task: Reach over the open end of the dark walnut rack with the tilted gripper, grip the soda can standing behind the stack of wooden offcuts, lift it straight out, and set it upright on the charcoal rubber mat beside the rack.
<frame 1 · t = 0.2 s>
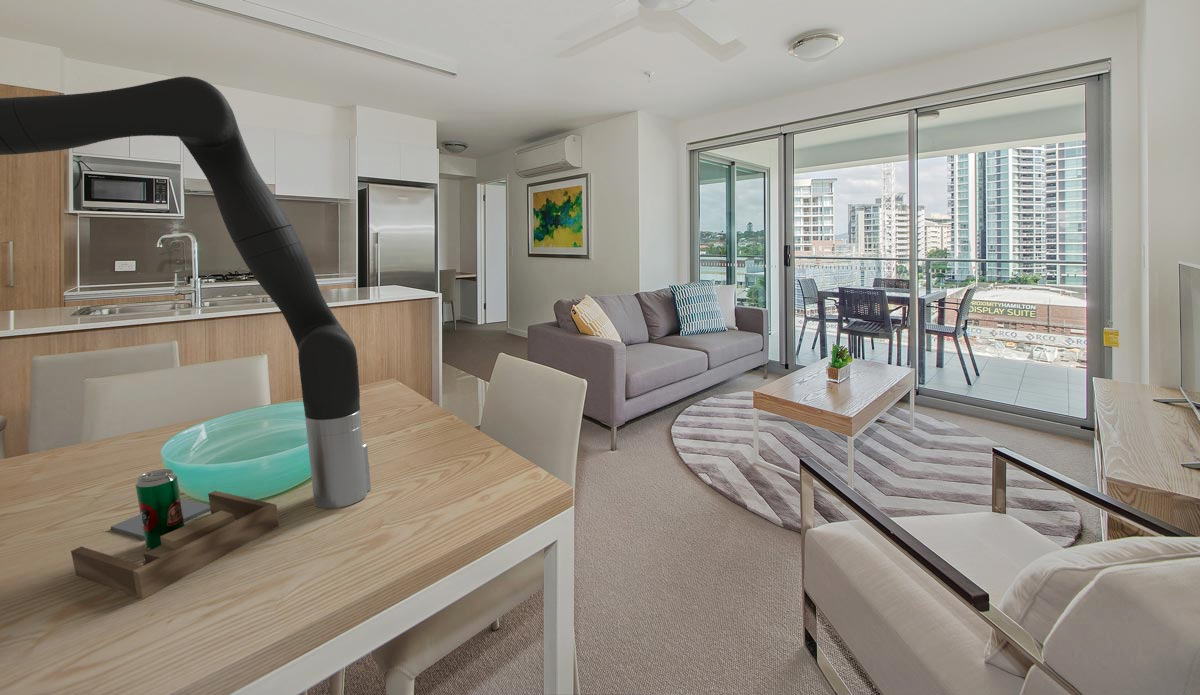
soda can: (167, 544, 84), on the table
offcut stack: (196, 551, 82), on the table
rack: (183, 547, 83), on the table
mat: (164, 518, 92), on the table
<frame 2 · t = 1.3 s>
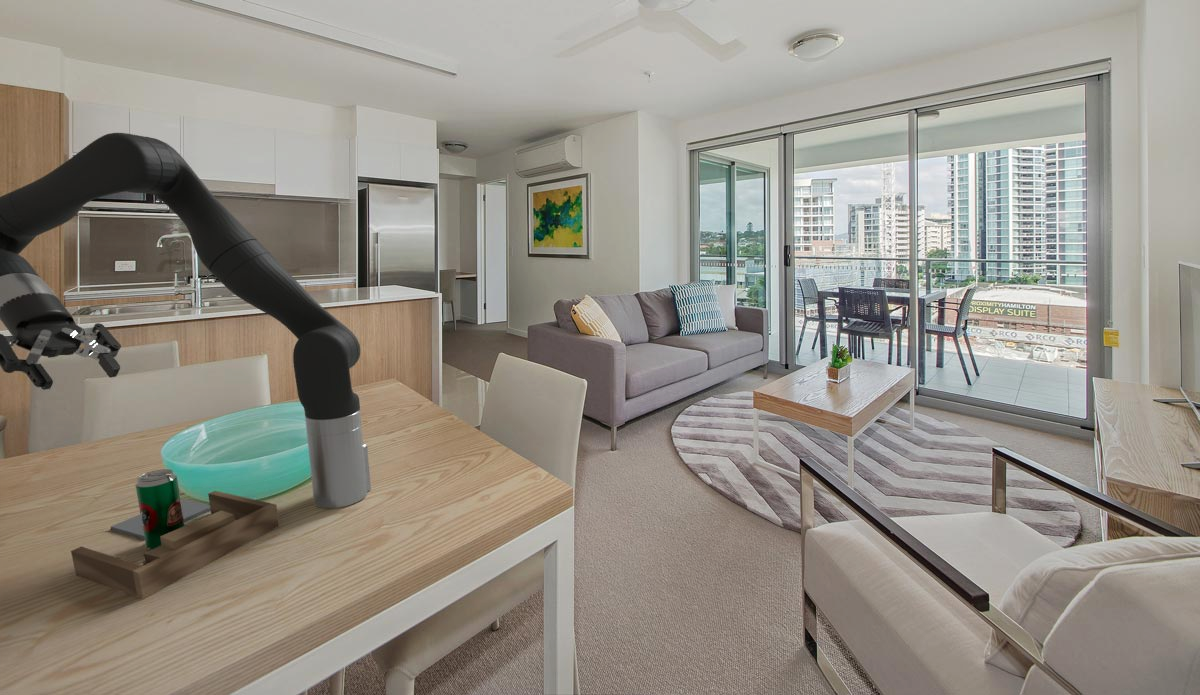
hand: (83, 380, 84), 26 cm above the table, tool tilted 45°, fingers open, 8 cm apart
nothing on the table moved.
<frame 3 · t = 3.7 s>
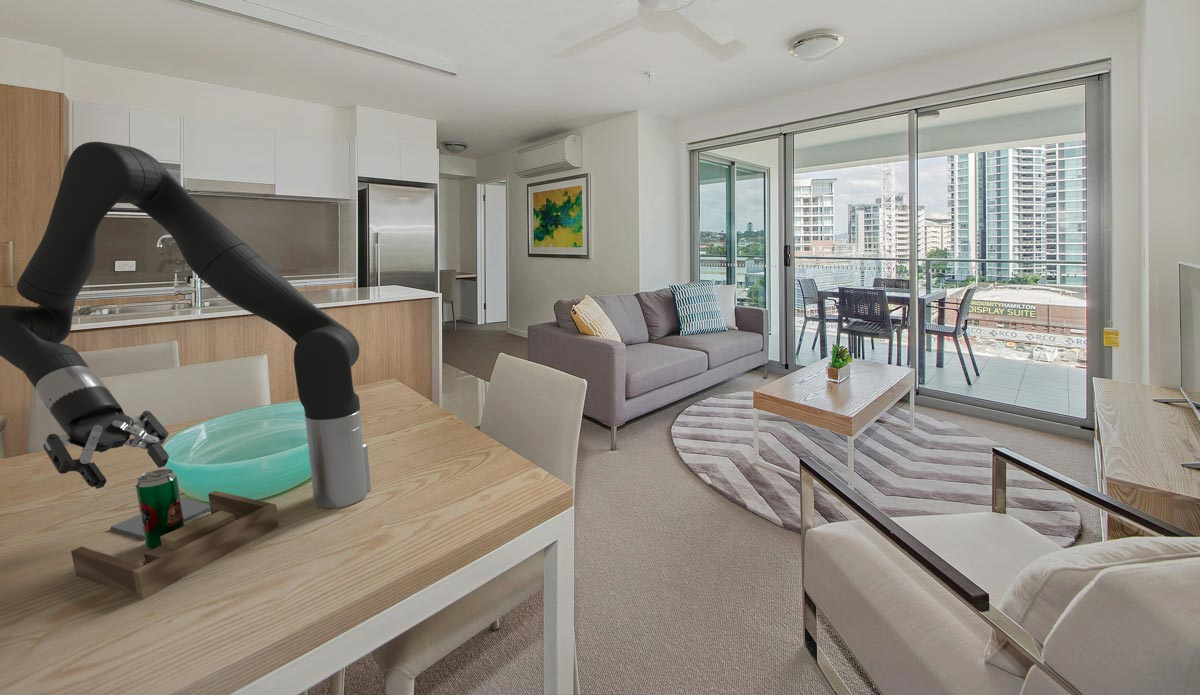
hand: (134, 474, 84), 11 cm above the table, tool tilted 45°, fingers open, 8 cm apart
nothing on the table moved.
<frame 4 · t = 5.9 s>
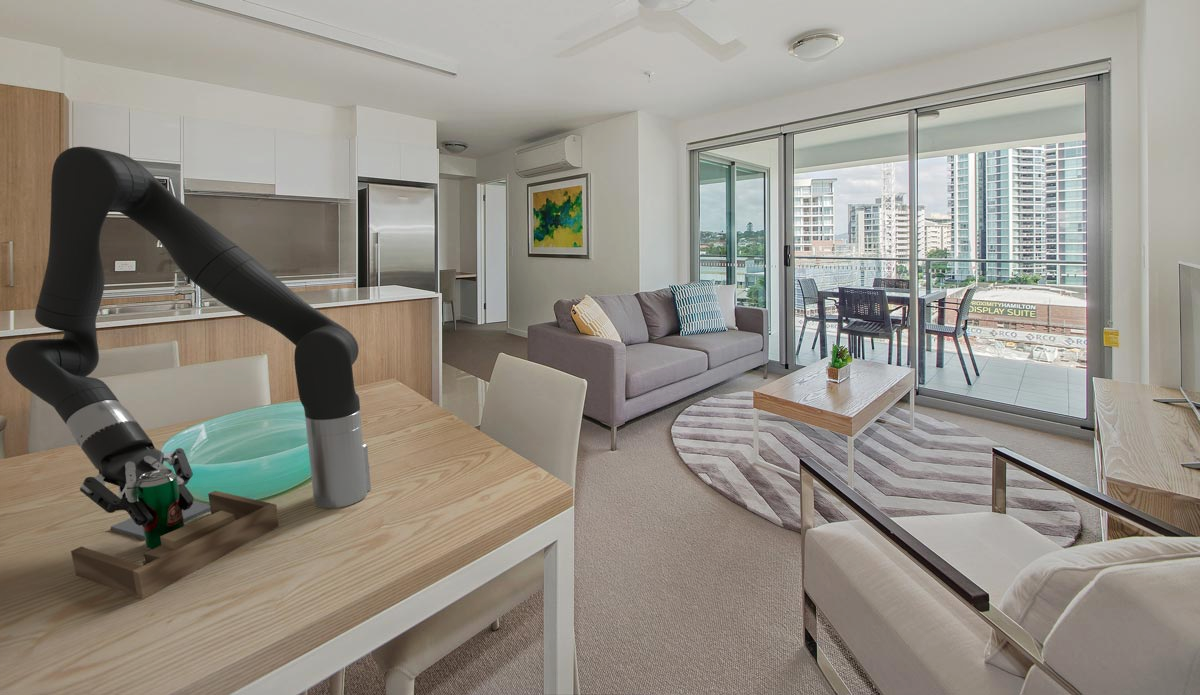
hand: (169, 514, 83), 5 cm above the table, tool tilted 45°, fingers closed on soda can, 5 cm apart
soda can: (167, 544, 84), on the table, touching gripper
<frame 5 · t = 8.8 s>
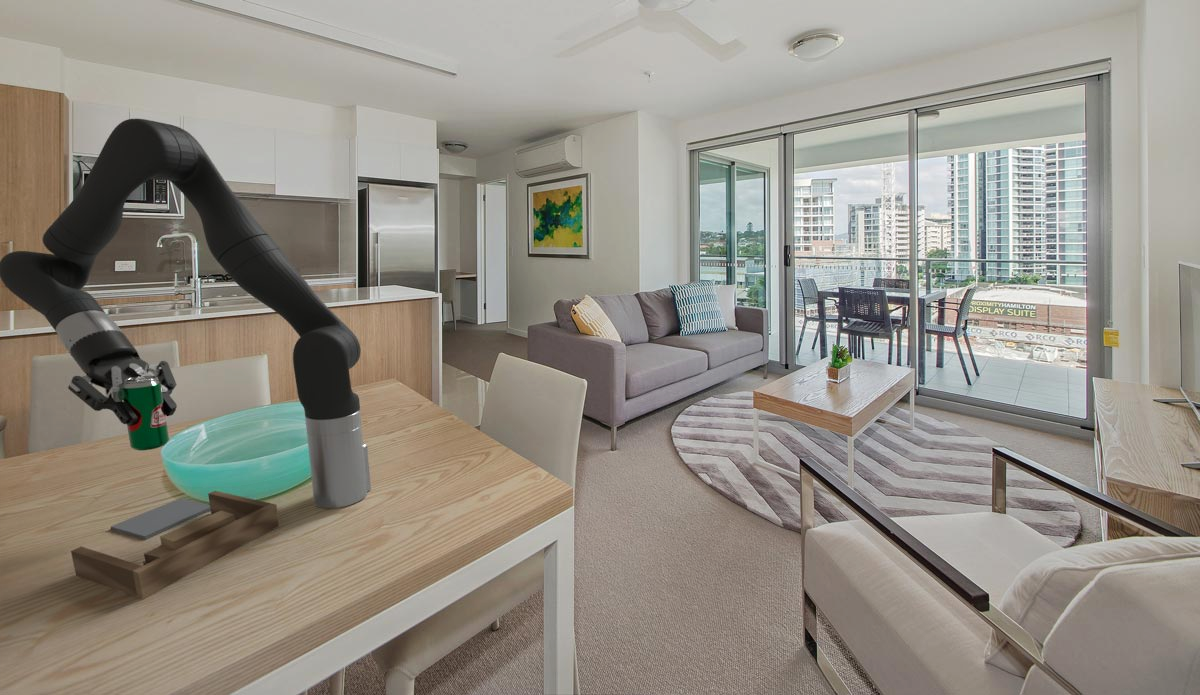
hand: (153, 417, 87), 19 cm above the table, tool tilted 45°, fingers closed on soda can, 5 cm apart
soda can: (150, 447, 89), point 14 cm above the table, touching gripper
when the fingers open (7 cm above the table, at t = 11.5 s): soda can stays where it is, resting on mat.
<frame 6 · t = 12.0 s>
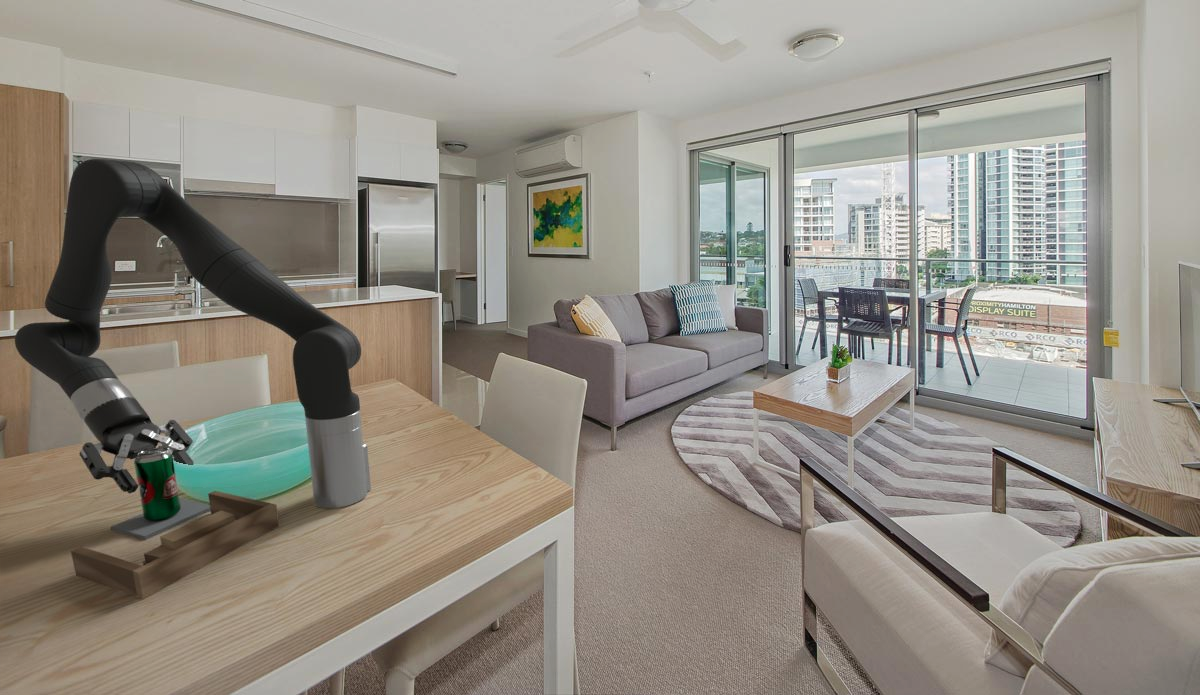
hand: (163, 479, 90), 8 cm above the table, tool tilted 45°, fingers open, 8 cm apart
soda can: (163, 516, 92), resting on mat
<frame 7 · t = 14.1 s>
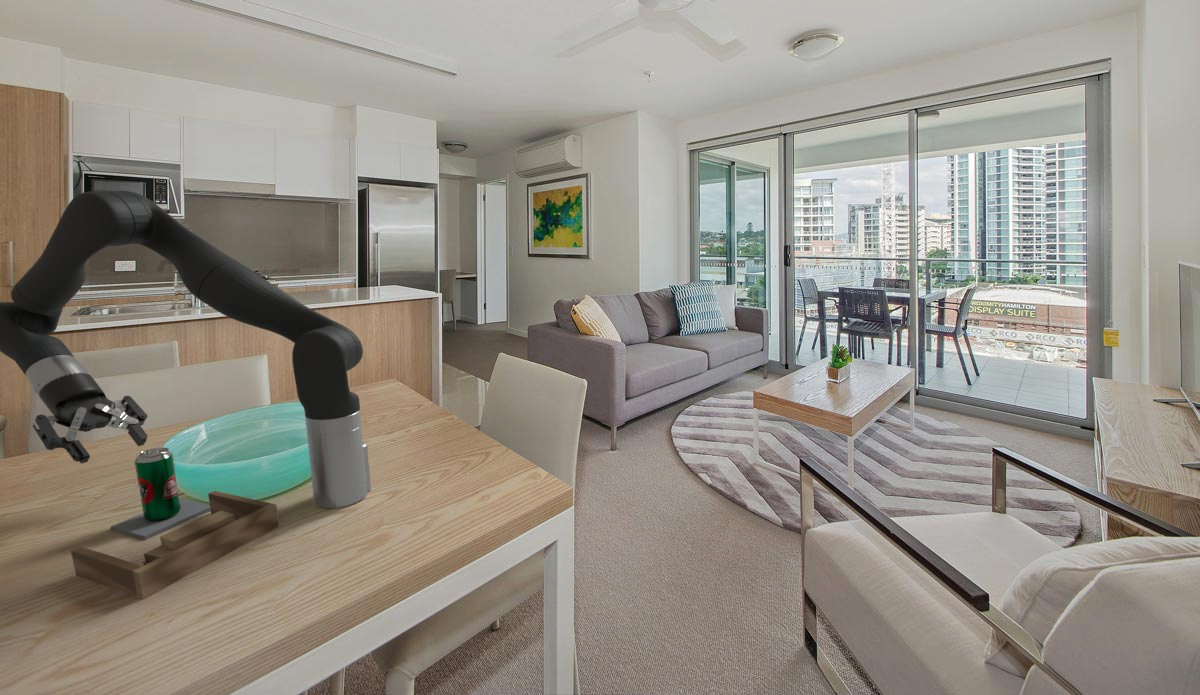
hand: (115, 451, 93), 11 cm above the table, tool tilted 45°, fingers open, 8 cm apart
nothing on the table moved.
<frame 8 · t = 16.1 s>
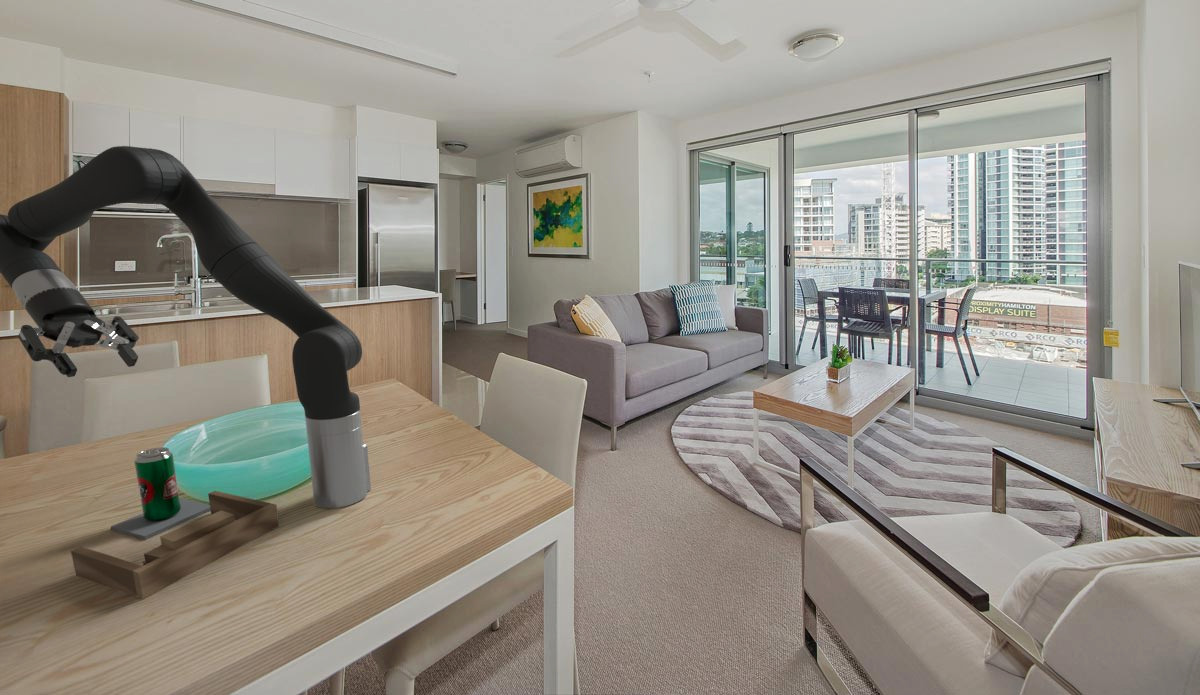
hand: (104, 368, 90), 27 cm above the table, tool tilted 45°, fingers open, 8 cm apart
nothing on the table moved.
at the end: soda can inside the target area on the mat (0.2 cm from its centre), point 0.4 cm above the mat's base; soda can tilted 0°; the gripper is holding nothing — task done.
